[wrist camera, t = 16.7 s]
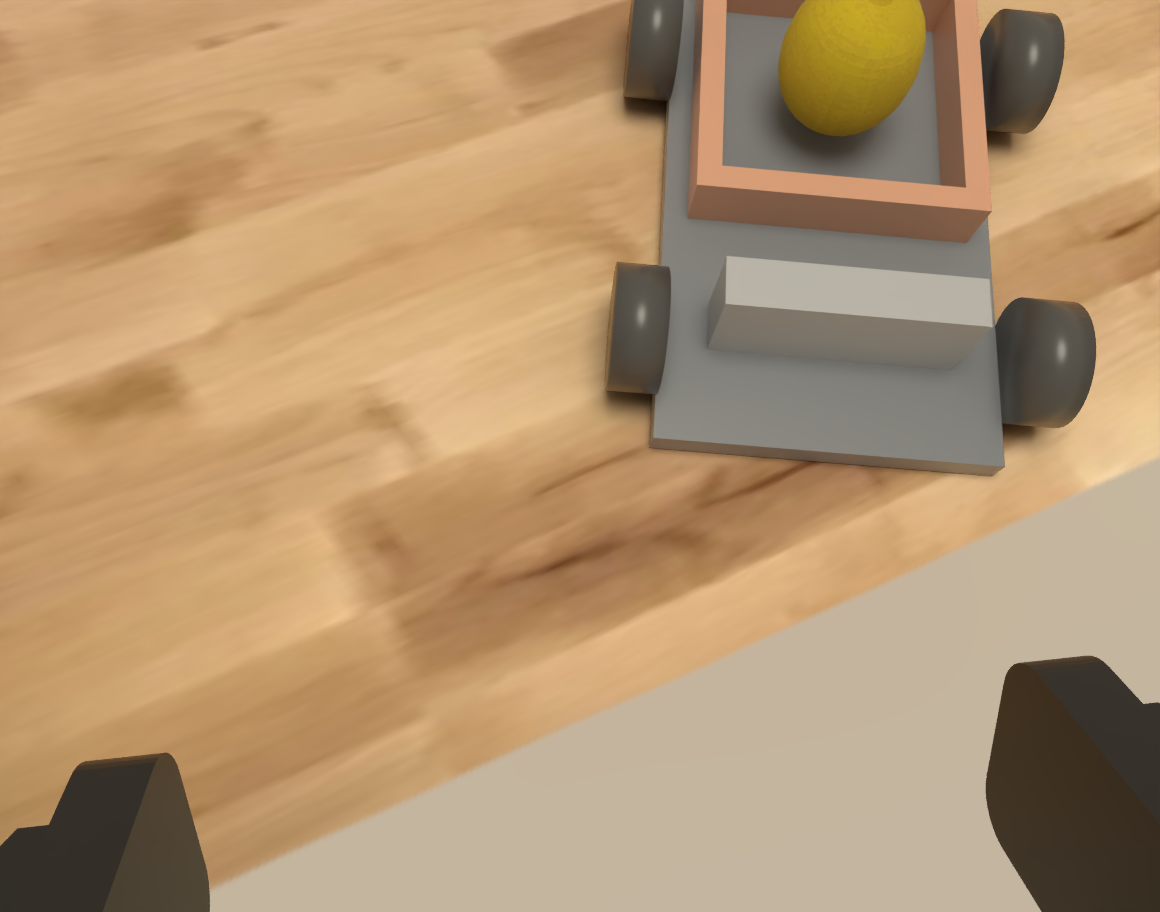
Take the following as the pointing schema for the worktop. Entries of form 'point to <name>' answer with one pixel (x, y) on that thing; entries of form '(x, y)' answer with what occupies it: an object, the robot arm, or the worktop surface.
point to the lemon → (850, 62)
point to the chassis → (838, 252)
